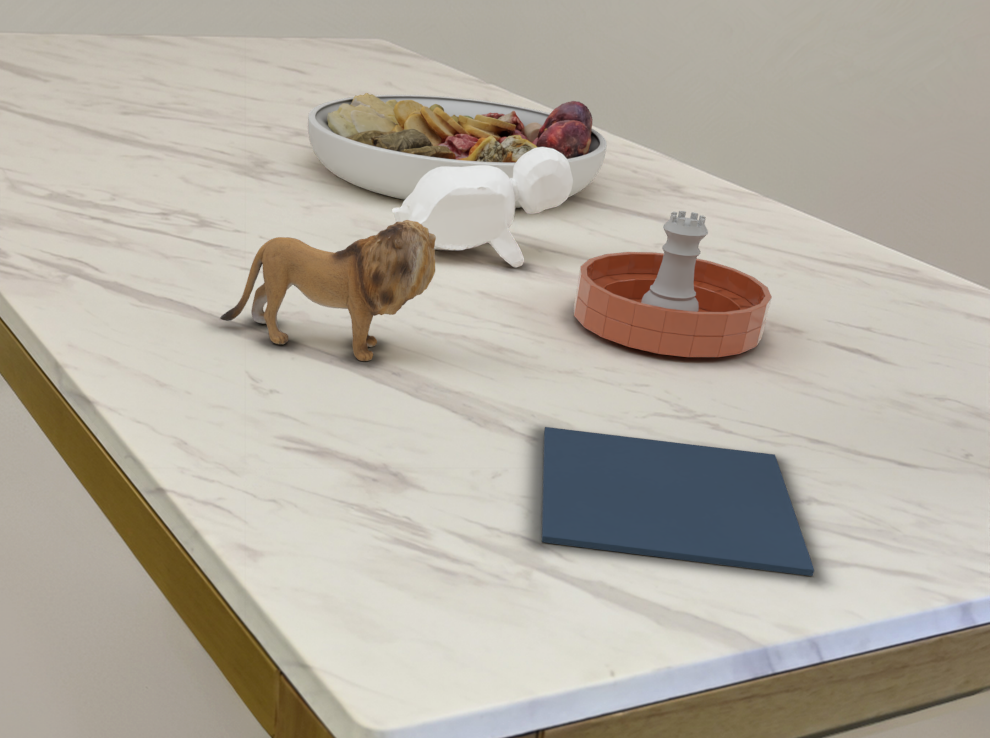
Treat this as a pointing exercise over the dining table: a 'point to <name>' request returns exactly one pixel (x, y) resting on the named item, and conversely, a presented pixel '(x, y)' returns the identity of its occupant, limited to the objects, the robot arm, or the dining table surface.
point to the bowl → (444, 138)
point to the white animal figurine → (486, 201)
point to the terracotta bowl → (707, 333)
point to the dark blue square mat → (669, 501)
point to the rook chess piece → (678, 264)
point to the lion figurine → (343, 278)
